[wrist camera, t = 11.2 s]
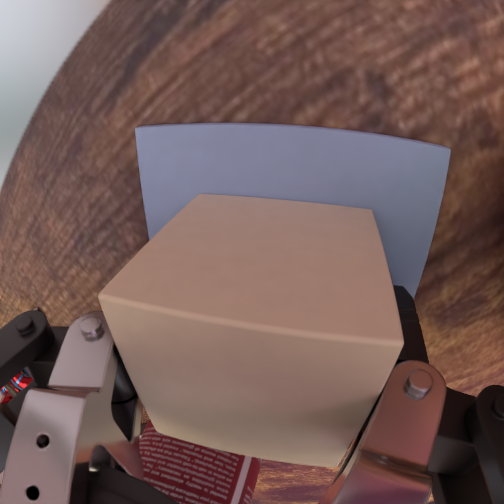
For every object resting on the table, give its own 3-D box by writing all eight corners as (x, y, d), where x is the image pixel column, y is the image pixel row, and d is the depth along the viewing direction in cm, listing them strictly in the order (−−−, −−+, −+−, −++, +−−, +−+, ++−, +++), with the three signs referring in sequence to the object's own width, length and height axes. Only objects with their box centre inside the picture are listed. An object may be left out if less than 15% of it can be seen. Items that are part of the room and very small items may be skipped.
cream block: (198, 192, 9) (94, 294, 5) (373, 208, 8) (406, 343, 4) (210, 320, 12) (155, 432, 7) (344, 339, 11) (336, 468, 6)
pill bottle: (145, 385, 16) (62, 540, 7) (222, 365, 14) (129, 591, 4) (213, 438, 18) (159, 578, 9) (293, 429, 15) (247, 609, 6)
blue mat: (141, 125, 9) (134, 128, 8) (446, 146, 7) (452, 149, 7) (174, 339, 13) (171, 345, 13) (381, 369, 12) (382, 376, 11)
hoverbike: (11, 366, 24) (-17, 401, 19) (18, 325, 18) (-26, 374, 13) (46, 398, 25) (20, 435, 20) (66, 372, 19) (27, 426, 14)
